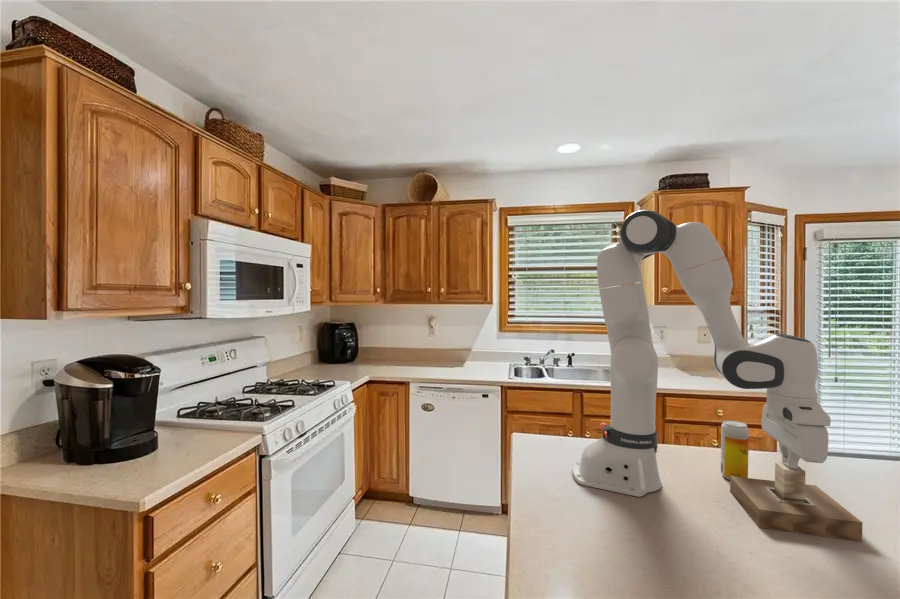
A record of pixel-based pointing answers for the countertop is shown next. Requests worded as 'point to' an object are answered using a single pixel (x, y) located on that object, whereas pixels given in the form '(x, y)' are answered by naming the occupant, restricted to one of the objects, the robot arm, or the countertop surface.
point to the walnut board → (795, 510)
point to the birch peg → (789, 483)
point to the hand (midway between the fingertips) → (789, 465)
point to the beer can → (734, 449)
